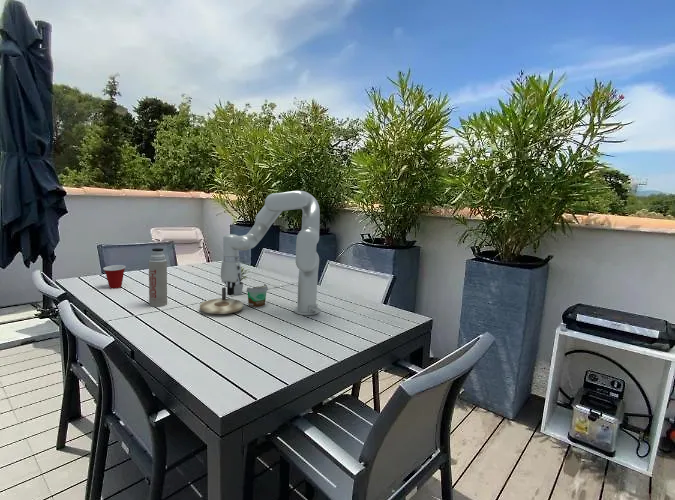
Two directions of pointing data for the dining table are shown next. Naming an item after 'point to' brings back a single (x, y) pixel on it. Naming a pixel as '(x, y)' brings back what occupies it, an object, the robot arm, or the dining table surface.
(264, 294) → the food container
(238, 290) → the house plant
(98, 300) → the dining table surface
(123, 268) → the plastic cup
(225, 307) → the turntable
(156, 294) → the thermos bottle
